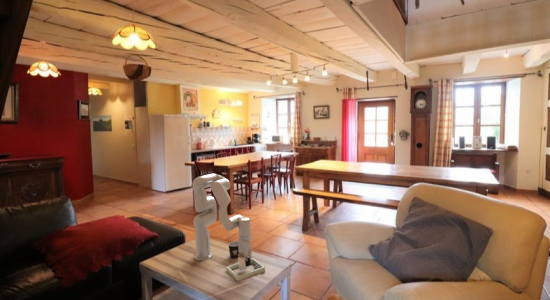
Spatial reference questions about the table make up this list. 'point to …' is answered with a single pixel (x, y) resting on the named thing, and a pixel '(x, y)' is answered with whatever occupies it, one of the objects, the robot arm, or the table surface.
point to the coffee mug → (233, 249)
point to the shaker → (242, 262)
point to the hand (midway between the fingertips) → (245, 263)
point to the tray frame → (259, 270)
